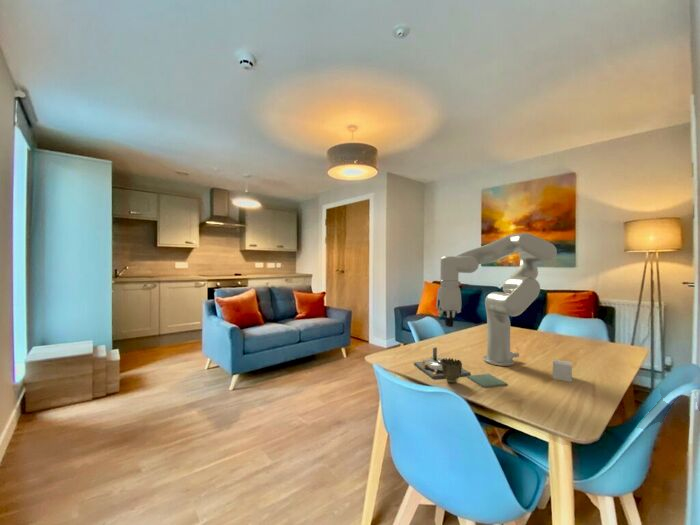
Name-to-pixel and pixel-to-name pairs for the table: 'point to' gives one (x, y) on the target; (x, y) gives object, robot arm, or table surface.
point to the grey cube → (562, 370)
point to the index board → (437, 374)
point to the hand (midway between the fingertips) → (449, 326)
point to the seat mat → (486, 380)
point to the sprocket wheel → (433, 362)
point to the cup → (451, 369)
